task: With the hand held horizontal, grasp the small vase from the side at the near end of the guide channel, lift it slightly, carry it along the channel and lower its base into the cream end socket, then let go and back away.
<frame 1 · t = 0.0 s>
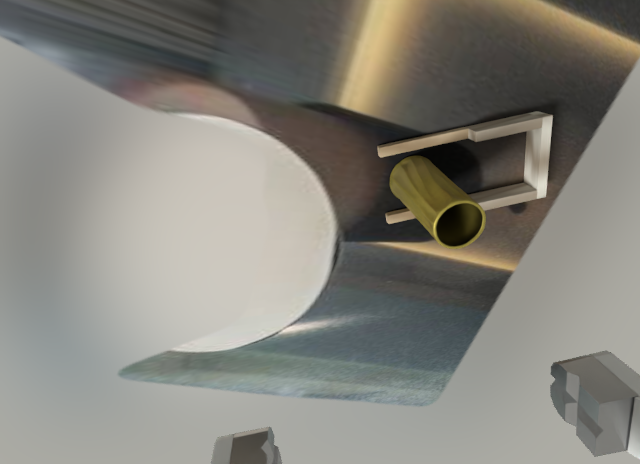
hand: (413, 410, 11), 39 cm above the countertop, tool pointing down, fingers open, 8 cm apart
guide: (450, 170, 50), on the countertop
vase: (411, 178, 50), on the countertop
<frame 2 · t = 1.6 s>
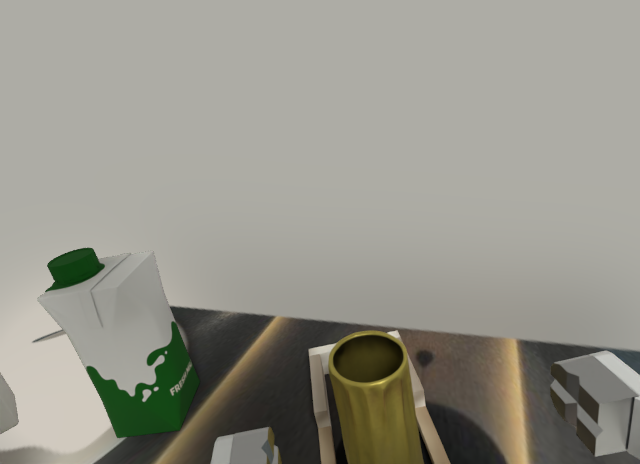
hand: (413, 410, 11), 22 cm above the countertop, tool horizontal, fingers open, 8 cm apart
guide: (377, 443, 35), on the countertop
milk carton: (162, 409, 44), on the countertop
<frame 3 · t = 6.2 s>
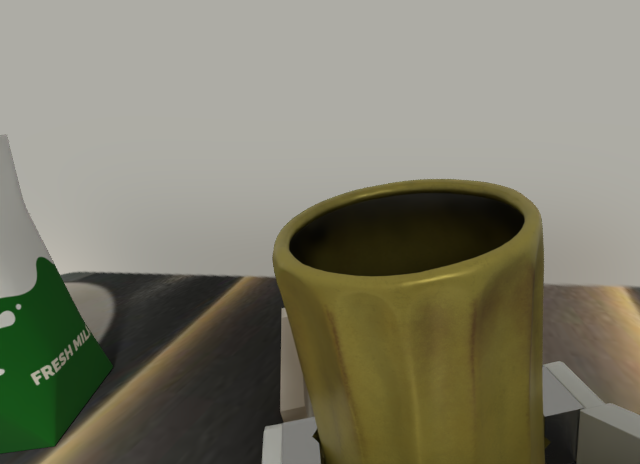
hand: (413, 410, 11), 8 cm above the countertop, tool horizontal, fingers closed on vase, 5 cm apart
milk carton: (43, 411, 27), on the countertop
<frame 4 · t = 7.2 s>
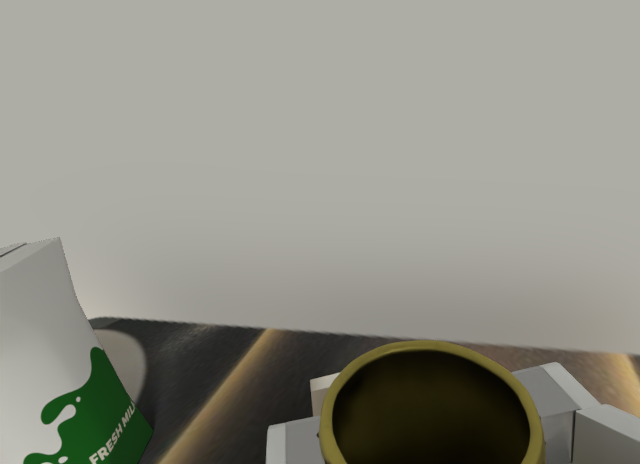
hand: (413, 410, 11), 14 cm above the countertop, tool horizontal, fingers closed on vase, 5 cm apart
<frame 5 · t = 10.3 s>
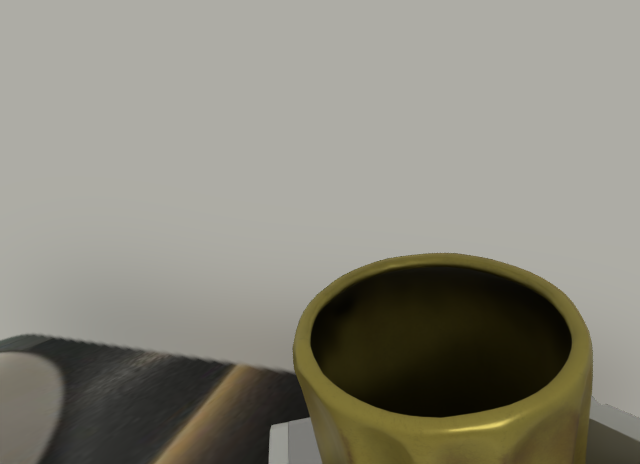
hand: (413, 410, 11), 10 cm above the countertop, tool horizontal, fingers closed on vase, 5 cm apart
when the fingers open (10 cm above the countertop, at t = 10.7 s): vase stays where it is, on the countertop.
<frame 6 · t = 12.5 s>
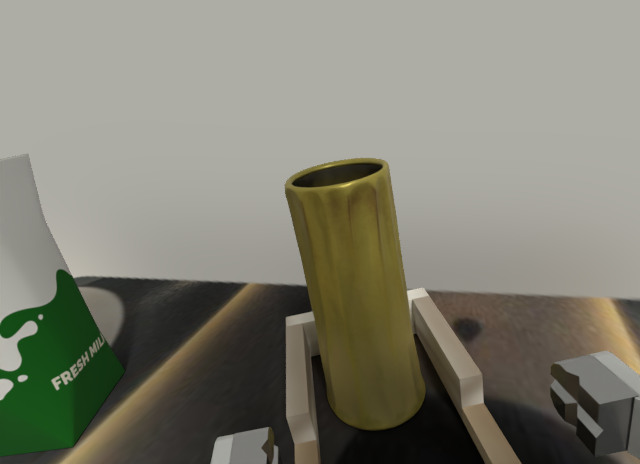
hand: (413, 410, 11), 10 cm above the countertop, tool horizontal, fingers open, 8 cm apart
milk carton: (59, 413, 28), on the countertop
vase: (376, 393, 24), on the countertop
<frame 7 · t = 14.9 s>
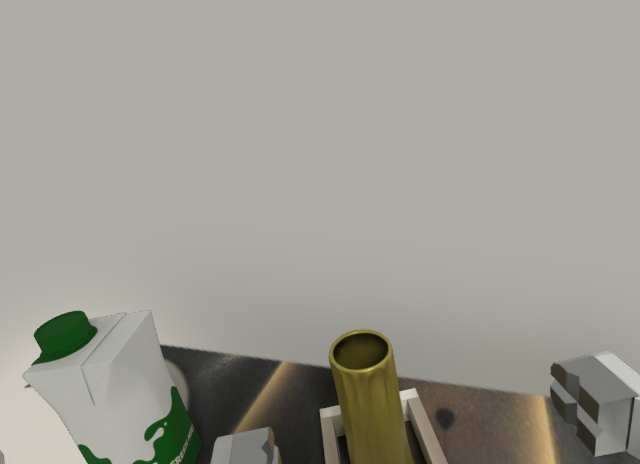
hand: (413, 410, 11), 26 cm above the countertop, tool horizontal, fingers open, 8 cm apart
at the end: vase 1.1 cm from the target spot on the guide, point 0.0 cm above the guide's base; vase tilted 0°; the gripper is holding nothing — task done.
